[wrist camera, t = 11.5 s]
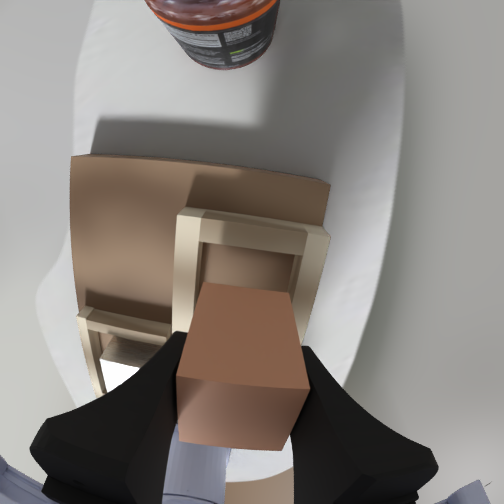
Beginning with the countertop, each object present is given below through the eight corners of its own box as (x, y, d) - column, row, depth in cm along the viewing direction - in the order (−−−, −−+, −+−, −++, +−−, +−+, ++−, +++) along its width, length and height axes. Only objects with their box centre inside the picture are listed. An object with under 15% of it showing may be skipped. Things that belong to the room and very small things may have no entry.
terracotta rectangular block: (288, 292, 14) (310, 389, 8) (273, 356, 15) (281, 450, 10) (203, 281, 13) (176, 375, 8) (198, 347, 15) (179, 440, 9)
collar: (294, 337, 20) (297, 356, 18) (178, 323, 19) (171, 340, 17) (322, 226, 17) (330, 236, 15) (185, 206, 16) (177, 214, 15)
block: (172, 386, 21) (164, 413, 19) (121, 374, 21) (109, 399, 18) (171, 345, 20) (161, 373, 17) (114, 333, 20) (99, 358, 17)
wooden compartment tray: (265, 405, 26) (267, 437, 22) (106, 378, 25) (92, 405, 21) (320, 179, 18) (338, 189, 15) (89, 153, 17) (58, 158, 14)
